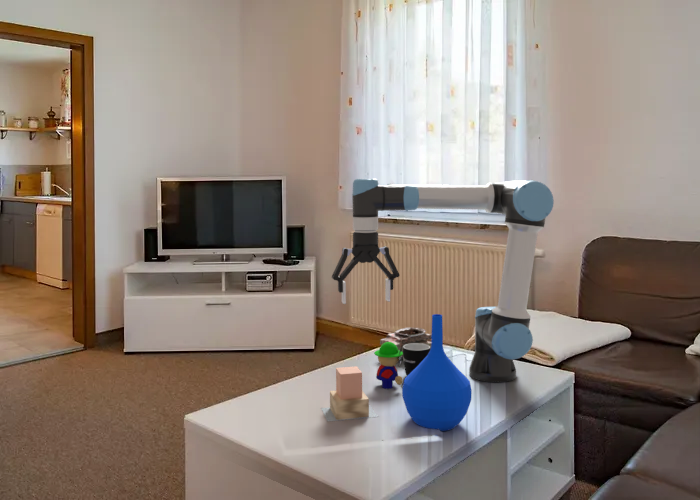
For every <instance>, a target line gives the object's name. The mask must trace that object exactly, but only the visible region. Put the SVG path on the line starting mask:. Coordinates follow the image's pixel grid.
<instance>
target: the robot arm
mask: <svg viewBox="0 0 700 500" xmlns="http://www.w3.org/2000/svg"><path fill="white" fill-rule="evenodd" d="M552 193H553V192H552V191H551V189H550V188H549V187H548V186H547V185H546V184H545V183H543V182H541V181H538V180H533V179H526V180H525V179H524V180H523V179H522V180H521V179H520V180H519V179H516V180H508V181H499V182H488V183H486V184H485V185H462V184H461V185H460V184H459V185H457V184H456V185H452V184H451V185H449V184H443V185H442V184H395V183H387V184H385V185H384V184H383V185H382V184H380V183H379V180H378V179H377V178H356V179H354V180H353V182H352V194H351V196H352V197H351V198H352V200H351V202H352V230H353V232H352V248H346V247H342V249H341V255H340V257H339V260H338V262H337V264H336V266H335V269H334V271H333V273H332V275H331V279H332V280H334V281H336V282H337V292H339V293H340V294H341V303H342V304H343V305H346V304H347V286H346V285H347V282H346V281H345V279H346V278H347V277H348V276H349V274H350V273H351V272H352V270H353V269H354V268H355V266H356V265H358V263H361V264H364V263H368V264H369V263H373V262H374V263H375V264H376V266H377V267H378V268H379V269H380V270H381V271H382V272H383V274H384V275H385V276H386V277H387V278H385V279H384V280H385V290H384V292H385V295H384V296H385V298H384V299H385V301H387V302H391V291H393V290H394V280H395V279H396V278H399V277H400V272H399V270H398V269H397V267H396V264H395V263H394V261H393V259H392V256H391V255H390V248H389V247H388V246H386V245H385V246H382V247H379V232H378V230H379V212H380V211H381V212H384V211H385V212H386V211H387V212H388V211H392V212H393V211H396V212H397V211H405V212H409V211H415V210H418V209H419V210H420V209H421V210H423V209H424V210H425V209H427V210H429V209H430V210H432V209H433V210H477V211H478V210H480V211H481V210H484V211H485V212H486V213H490V214H500V215H504V216H505V219H504V224H505V225H506V226H507V228H508V232H507V240H506V247H505V253H504V254H505V255H504V260H503V267H502V274H501V280H500V281H501V283H500V289H499V294H498V303H497V306H482V307H478V308H477V309H476V310H475V316H474V320H475V321H474V323H475V325H474V328H475V329H474V334H475V335H474V354H473V357H472V358H471V359H472V360H471V362H470V365H469V369H468V370H469V372H468V373H469V376H470V377H471V378H472V379H475V380H478V381H480V382H481V381H482V382H488V383H506V382H512V381H513V379H514V380H515V379H516V378H517V369H516V366H515V365H516V364H515V361H514V360H518V359H521V358H522V357H524V356H525V355H526V354H528V353H529V352H530V350H531V348H532V346H533V341H534V339H533V334H532V332H531V330H530V323H531V315H530V314H529V313H528V311H527V306H528V301H529V296H530V295H529V294H530V287H531V281H532V274H533V267H534V262H535V261H534V260H535V254H536V248H537V247H536V246H537V241H538V236H539V235H538V234H539V232H540V231H542V230H543V229H545V224H546V218H547V217H548V216H549V215H550V214H551V212H552V211H553V208H554V202H555V201H554V195H553V194H552ZM380 253H381V254H382V255H383V256H384V258H385V260H386V262H387V265H388V266H389V268H390V271H391V272H390V271H389V269H388V268H387V267H386V266H385V265H384V264H383V262H382V261H381V260H380V259H379V258H378V255H379V254H380ZM351 254H352V255H353V258H352V259H351V261H350V262H349V263H348V264H347V265H346V267H345V268H344V265H345V263H346V261H347V259H348V257H349V256H350V255H351ZM343 268H344V269H343ZM342 269H343V271H342ZM341 271H342V272H341Z"/></svg>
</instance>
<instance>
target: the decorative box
mask: <svg viewBox="0 0 700 500" xmlns="http://www.w3.org/2000/svg"><path fill="white" fill-rule="evenodd" d="M426 332H427V330H426V329H424V328H421V327H404V328H399V329H396V330H395V332H393V333H387V335H386V337H384V338H381V339H379V341H380V342H379V345H380V346H381V345H382V344H384V343H385V342H392V343H394V344H395V345H396V346H397V348H398V350H400V349H401V347H402V352H403V346H404V345H406V344H410V343H421V344H426V345H429V346H430V349H431V336H432V334H431V333H426ZM429 341H430V342H429ZM402 359H403V355H402Z"/></svg>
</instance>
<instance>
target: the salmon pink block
mask: <svg viewBox="0 0 700 500" xmlns="http://www.w3.org/2000/svg"><path fill="white" fill-rule="evenodd" d="M335 382H336V384H335V385H336V386H335V387H336V388H335V389H336V390H335V391H336V393H337V394H338V396H339V397H340V399H352V398H362V390H363V372H362V370H360V368H359V366H357V365H356V366H344V367H343V366H342V367H336V368H335Z"/></svg>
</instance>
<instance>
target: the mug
mask: <svg viewBox="0 0 700 500" xmlns="http://www.w3.org/2000/svg"><path fill="white" fill-rule="evenodd" d="M429 352H430V346H429V345H426V344H421V343H410V344H406V345H404V346H403V358H402V361H403V367H404V372H405V375H406V377H407V376H408V375H409V374H410V373H411V372H412V371H413V370H414V369H415V368H416V367H417V366H418V365H419V364H420V363H421V362H422V361H423V360H424V358H425V357H426V356H427V355H428V353H429Z"/></svg>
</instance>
